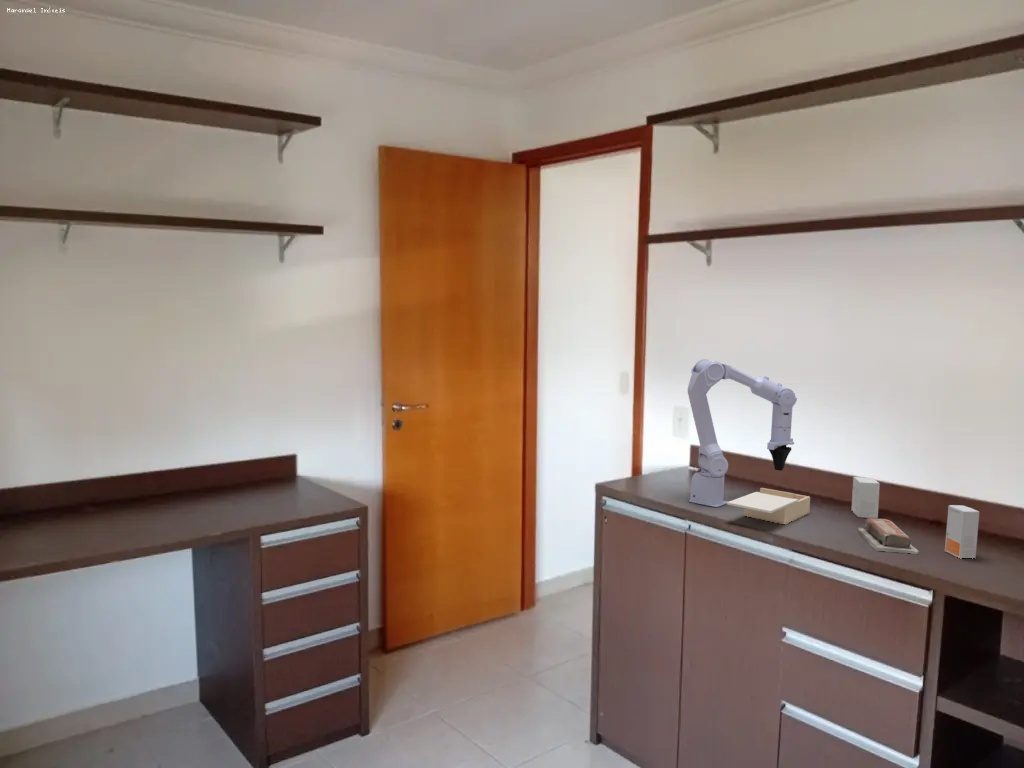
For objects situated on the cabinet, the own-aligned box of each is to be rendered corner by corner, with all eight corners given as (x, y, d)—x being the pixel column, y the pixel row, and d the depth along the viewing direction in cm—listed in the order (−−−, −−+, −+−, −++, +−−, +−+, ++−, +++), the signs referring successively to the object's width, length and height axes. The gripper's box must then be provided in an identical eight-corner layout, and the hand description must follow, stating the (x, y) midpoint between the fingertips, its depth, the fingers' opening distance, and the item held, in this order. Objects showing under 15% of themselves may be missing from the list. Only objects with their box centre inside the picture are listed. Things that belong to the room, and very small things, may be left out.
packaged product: (857, 515, 208) (896, 518, 207) (856, 532, 209) (895, 535, 207) (877, 534, 191) (920, 537, 189) (876, 553, 191) (919, 556, 190)
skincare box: (943, 551, 192) (947, 504, 191) (959, 551, 193) (963, 504, 192) (959, 559, 186) (963, 511, 185) (976, 559, 187) (980, 511, 186)
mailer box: (743, 516, 221) (744, 499, 221) (770, 505, 235) (770, 489, 234) (784, 525, 213) (785, 507, 213) (809, 513, 227) (810, 496, 226)
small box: (877, 519, 222) (880, 483, 221) (857, 517, 223) (859, 482, 222) (870, 512, 230) (873, 477, 229) (850, 510, 231) (853, 476, 230)
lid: (726, 504, 213) (727, 497, 213) (757, 493, 228) (757, 486, 228) (770, 513, 205) (770, 506, 205) (799, 501, 219) (799, 494, 219)
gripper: (784, 430, 228) (781, 475, 229) (803, 425, 239) (800, 468, 240) (761, 427, 233) (759, 471, 234) (781, 423, 243) (779, 465, 245)
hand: (778, 469), depth 237 cm, fingers closed
